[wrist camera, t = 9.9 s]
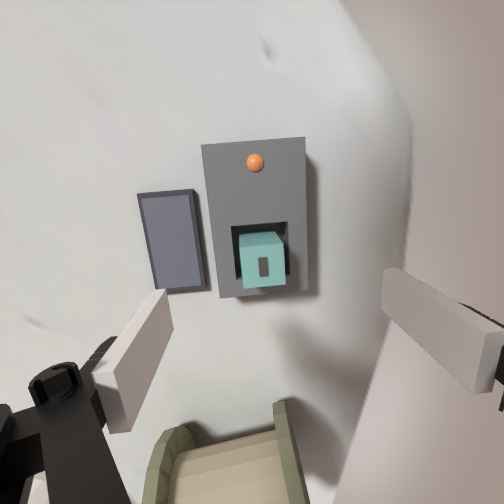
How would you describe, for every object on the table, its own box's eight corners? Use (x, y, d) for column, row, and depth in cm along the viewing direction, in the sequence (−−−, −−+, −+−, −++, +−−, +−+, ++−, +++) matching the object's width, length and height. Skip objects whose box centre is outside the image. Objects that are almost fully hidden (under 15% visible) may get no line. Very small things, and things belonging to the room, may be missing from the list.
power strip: (206, 149, 28) (200, 144, 24) (296, 142, 28) (305, 136, 24) (222, 284, 32) (219, 299, 28) (300, 277, 32) (308, 290, 28)
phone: (159, 290, 32) (156, 294, 31) (140, 193, 29) (136, 193, 28) (206, 285, 32) (205, 289, 31) (193, 188, 29) (191, 189, 28)
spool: (199, 475, 41) (177, 635, 26) (168, 403, 37) (122, 546, 22) (298, 451, 41) (331, 599, 26) (278, 376, 37) (303, 503, 22)
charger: (239, 232, 30) (239, 248, 23) (273, 229, 30) (283, 243, 23) (242, 265, 31) (243, 289, 24) (275, 261, 31) (286, 285, 24)
